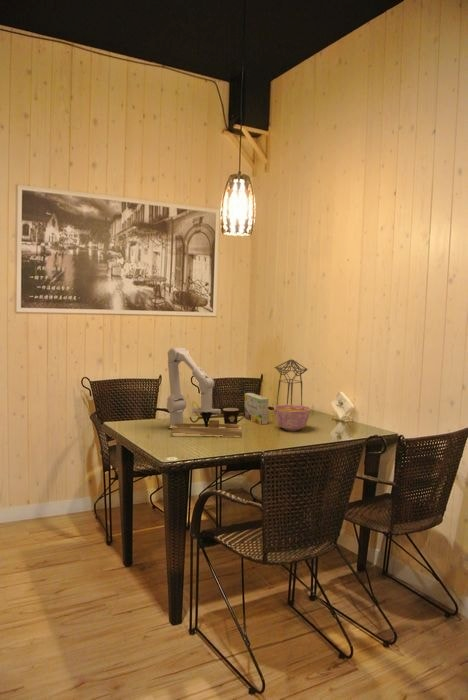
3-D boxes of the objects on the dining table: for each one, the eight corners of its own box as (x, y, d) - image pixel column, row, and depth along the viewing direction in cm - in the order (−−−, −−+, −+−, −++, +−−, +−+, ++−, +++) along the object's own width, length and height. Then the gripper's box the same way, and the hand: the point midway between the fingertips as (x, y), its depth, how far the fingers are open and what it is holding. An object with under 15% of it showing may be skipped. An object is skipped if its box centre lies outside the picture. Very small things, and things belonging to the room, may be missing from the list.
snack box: (243, 418, 331) (244, 393, 330) (252, 417, 334) (252, 392, 333) (260, 425, 312) (260, 398, 311) (268, 424, 315) (269, 398, 313)
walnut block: (209, 427, 291) (209, 420, 290) (219, 427, 291) (219, 420, 290) (208, 429, 286) (209, 422, 285) (218, 430, 286) (218, 422, 285)
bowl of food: (267, 430, 299) (267, 409, 298) (281, 423, 316) (282, 403, 315) (302, 435, 289) (302, 413, 288) (315, 427, 307) (315, 407, 306)
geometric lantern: (288, 412, 348) (291, 357, 345) (307, 417, 336) (310, 360, 333) (270, 415, 338) (272, 358, 335) (288, 420, 326) (291, 361, 323)
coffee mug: (221, 428, 303) (221, 410, 302) (225, 425, 311) (225, 407, 310) (241, 429, 300) (241, 411, 299) (245, 426, 308) (245, 408, 307)
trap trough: (174, 431, 294) (174, 423, 294) (241, 432, 294) (241, 424, 293) (171, 436, 283) (171, 427, 283) (241, 437, 283) (241, 428, 282)
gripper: (191, 402, 283) (191, 428, 284) (220, 402, 283) (220, 428, 284) (193, 399, 290) (193, 425, 291) (220, 400, 290) (220, 425, 291)
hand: (206, 426), depth 288 cm, fingers closed
